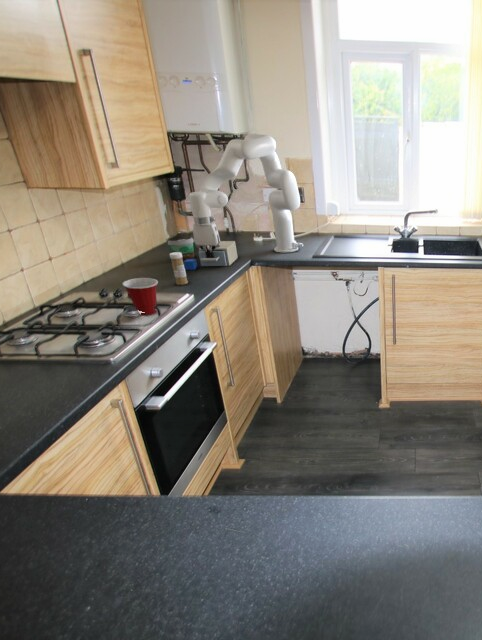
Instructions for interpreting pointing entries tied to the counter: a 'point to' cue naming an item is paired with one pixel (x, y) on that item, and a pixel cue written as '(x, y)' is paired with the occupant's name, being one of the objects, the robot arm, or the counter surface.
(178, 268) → the sprinkles bottle
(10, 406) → the counter surface
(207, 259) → the grey drawer
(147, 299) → the plastic cup
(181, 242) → the food container
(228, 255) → the cream drawer box
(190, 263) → the blue cube
